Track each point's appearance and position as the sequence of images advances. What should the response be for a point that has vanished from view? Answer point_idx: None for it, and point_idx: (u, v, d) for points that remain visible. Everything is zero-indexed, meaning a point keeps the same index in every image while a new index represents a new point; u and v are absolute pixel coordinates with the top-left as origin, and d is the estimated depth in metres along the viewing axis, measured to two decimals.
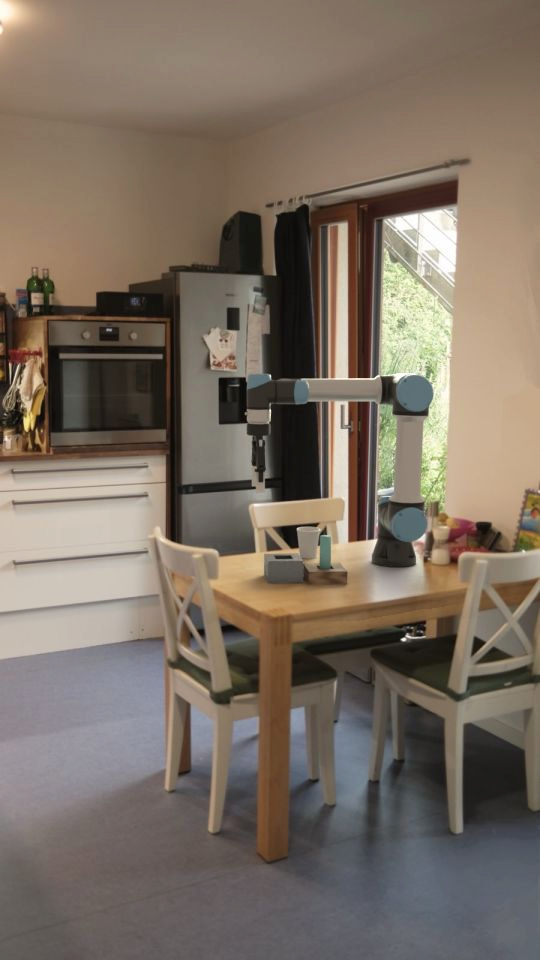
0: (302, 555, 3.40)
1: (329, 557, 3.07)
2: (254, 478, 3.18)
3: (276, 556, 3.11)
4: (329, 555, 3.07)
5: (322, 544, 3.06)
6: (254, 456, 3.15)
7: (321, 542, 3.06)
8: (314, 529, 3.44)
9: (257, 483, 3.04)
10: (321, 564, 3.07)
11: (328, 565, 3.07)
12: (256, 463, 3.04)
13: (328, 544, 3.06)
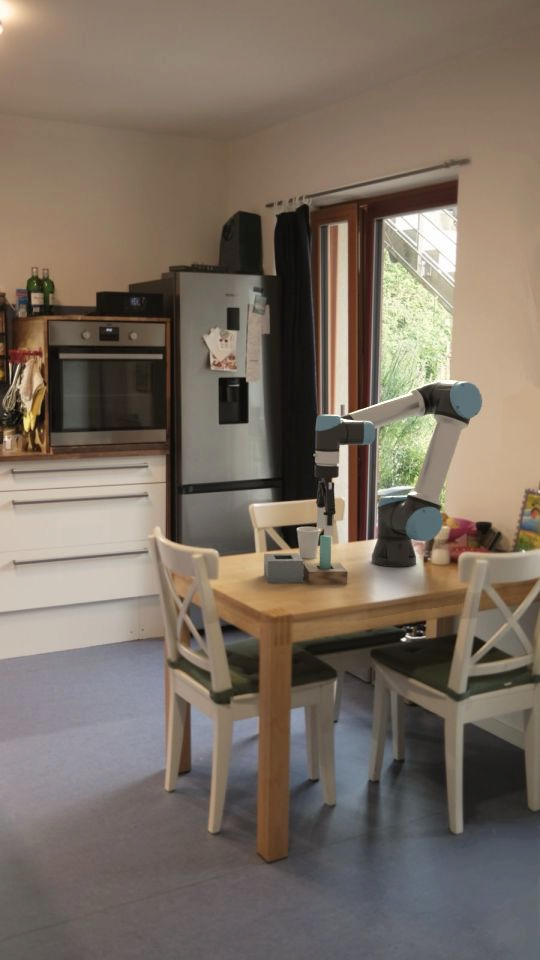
0: (302, 555, 3.40)
1: (329, 557, 3.07)
2: (319, 520, 3.12)
3: (276, 556, 3.11)
4: (329, 555, 3.07)
5: (322, 544, 3.06)
6: (320, 497, 3.10)
7: (321, 542, 3.06)
8: (314, 529, 3.44)
9: (326, 526, 2.99)
10: (321, 564, 3.07)
11: (328, 565, 3.07)
12: (325, 506, 2.99)
13: (328, 544, 3.06)
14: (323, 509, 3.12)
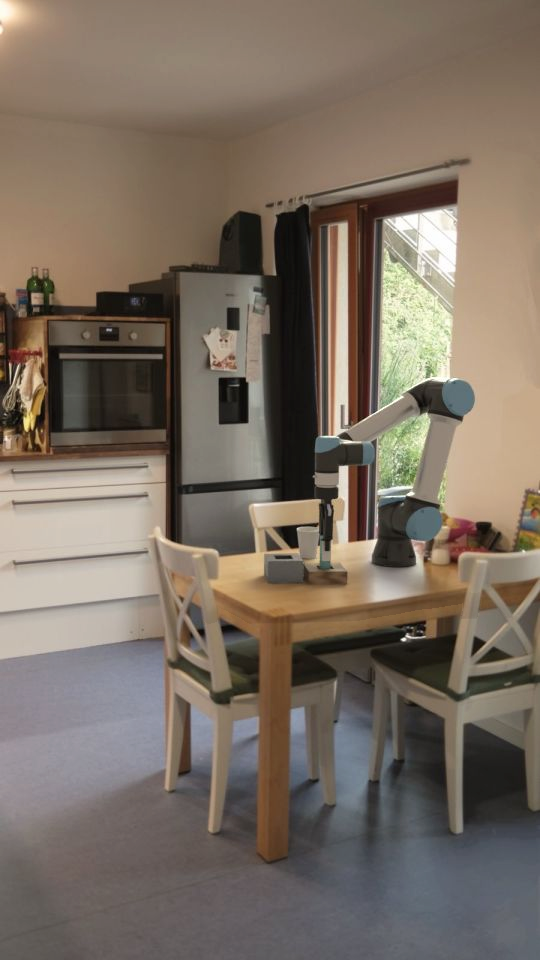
0: (302, 555, 3.40)
1: None
2: None
3: (276, 556, 3.11)
4: None
5: None
6: (322, 523, 3.08)
7: (321, 542, 3.06)
8: (314, 529, 3.44)
9: (323, 552, 3.05)
10: (321, 564, 3.07)
11: (328, 565, 3.07)
12: (323, 530, 3.04)
13: None
14: None
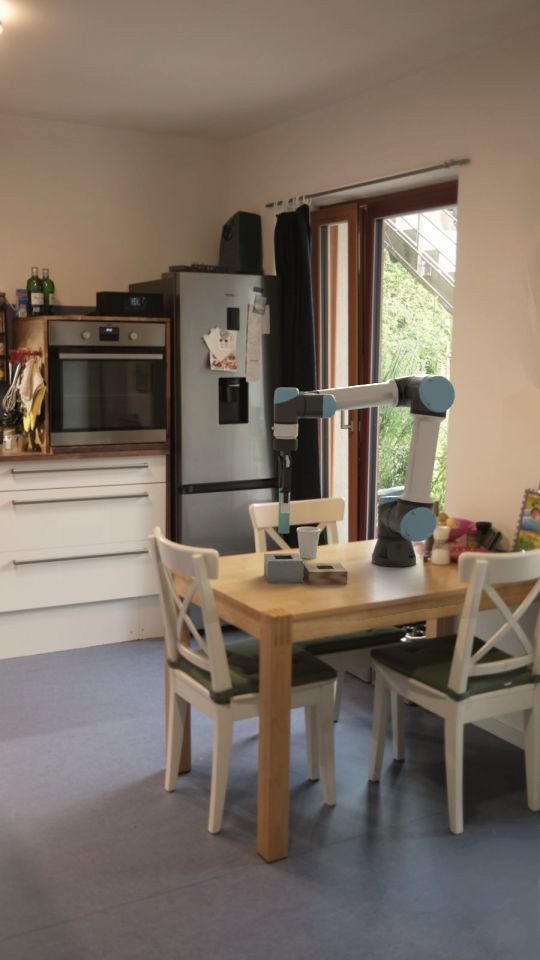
0: (302, 555, 3.40)
1: None
2: None
3: (276, 556, 3.11)
4: None
5: None
6: (281, 475, 3.06)
7: (280, 494, 3.04)
8: (314, 529, 3.44)
9: (282, 504, 3.03)
10: (280, 516, 3.05)
11: (287, 518, 3.05)
12: (282, 482, 3.02)
13: None
14: None
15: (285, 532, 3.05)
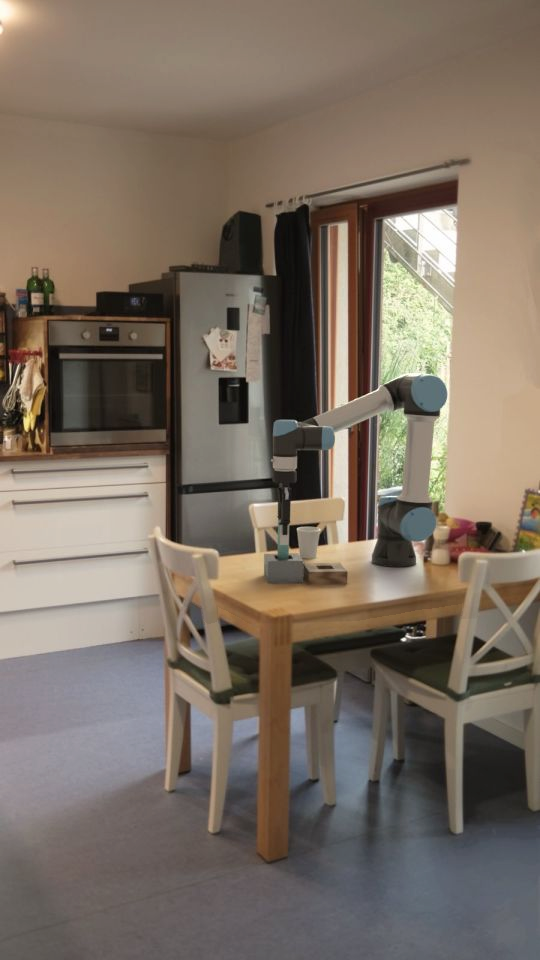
0: (302, 555, 3.40)
1: None
2: None
3: (276, 556, 3.11)
4: None
5: None
6: (280, 507, 3.08)
7: (279, 526, 3.06)
8: (314, 529, 3.44)
9: (281, 536, 3.05)
10: (279, 548, 3.07)
11: (286, 549, 3.06)
12: (281, 514, 3.04)
13: None
14: None
15: None
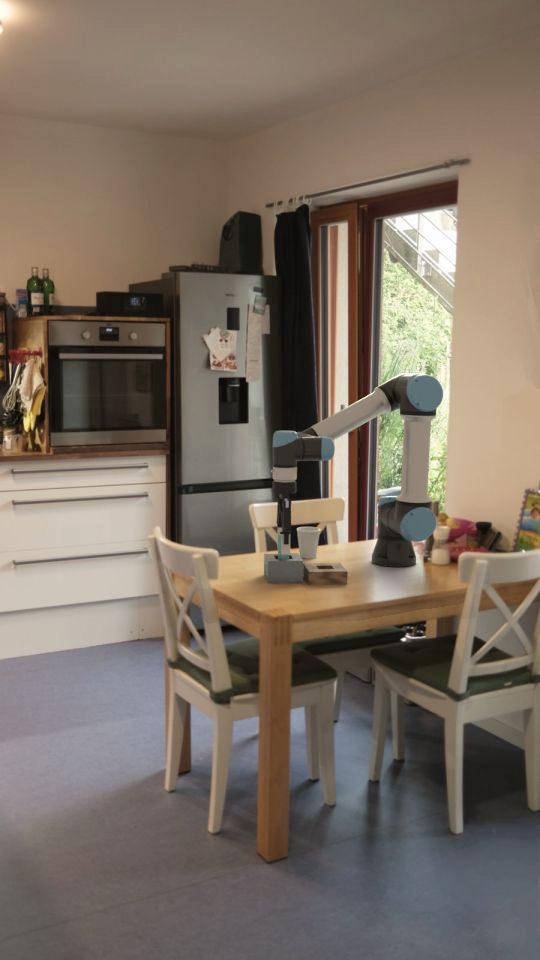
0: (302, 555, 3.40)
1: (287, 556, 3.07)
2: None
3: (276, 556, 3.11)
4: None
5: (280, 544, 3.06)
6: (280, 515, 3.10)
7: (279, 541, 3.06)
8: (314, 529, 3.44)
9: (282, 545, 3.02)
10: None
11: None
12: (282, 524, 3.02)
13: None
14: None
15: None
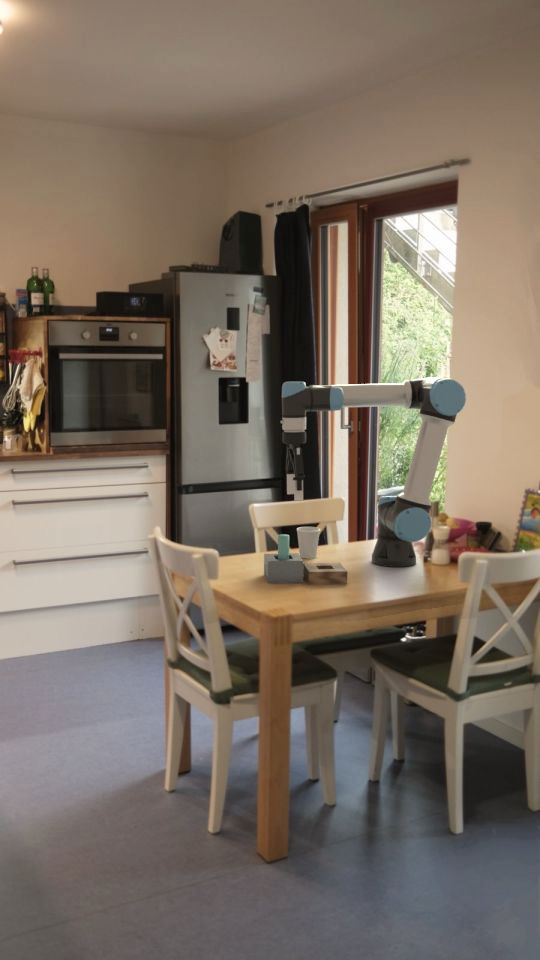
0: (302, 555, 3.40)
1: (287, 556, 3.07)
2: (289, 486, 3.17)
3: (276, 556, 3.11)
4: (287, 554, 3.07)
5: (280, 544, 3.06)
6: (289, 464, 3.14)
7: (279, 541, 3.06)
8: (314, 529, 3.44)
9: (295, 491, 3.04)
10: None
11: None
12: (294, 471, 3.04)
13: (286, 543, 3.06)
14: (292, 475, 3.17)
15: None
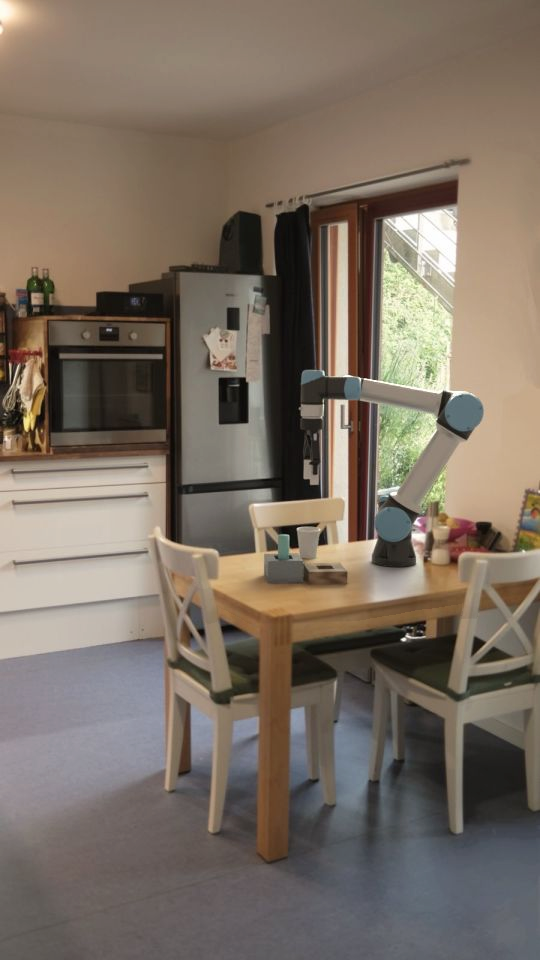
0: (302, 555, 3.40)
1: (287, 556, 3.07)
2: (306, 471, 3.28)
3: (276, 556, 3.11)
4: (287, 554, 3.07)
5: (280, 544, 3.06)
6: (306, 450, 3.25)
7: (279, 541, 3.06)
8: (314, 529, 3.44)
9: (311, 476, 3.15)
10: None
11: None
12: (310, 456, 3.15)
13: (286, 543, 3.06)
14: (309, 461, 3.28)
15: None
